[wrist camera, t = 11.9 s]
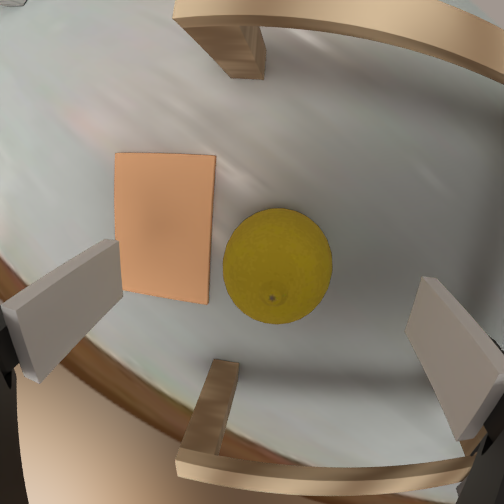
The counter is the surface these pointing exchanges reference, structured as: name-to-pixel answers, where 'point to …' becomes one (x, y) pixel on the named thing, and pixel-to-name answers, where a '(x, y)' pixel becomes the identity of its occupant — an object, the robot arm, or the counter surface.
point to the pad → (165, 223)
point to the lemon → (277, 266)
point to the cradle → (253, 67)
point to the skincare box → (12, 2)
